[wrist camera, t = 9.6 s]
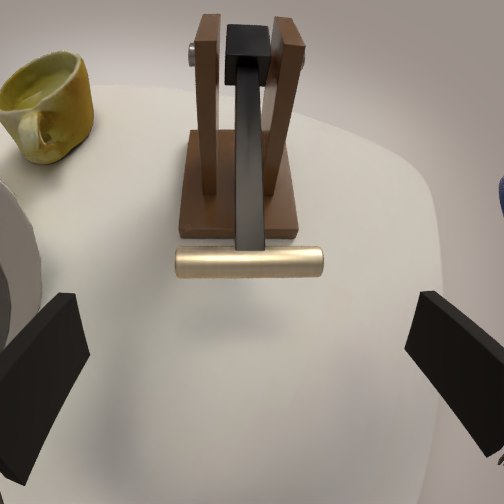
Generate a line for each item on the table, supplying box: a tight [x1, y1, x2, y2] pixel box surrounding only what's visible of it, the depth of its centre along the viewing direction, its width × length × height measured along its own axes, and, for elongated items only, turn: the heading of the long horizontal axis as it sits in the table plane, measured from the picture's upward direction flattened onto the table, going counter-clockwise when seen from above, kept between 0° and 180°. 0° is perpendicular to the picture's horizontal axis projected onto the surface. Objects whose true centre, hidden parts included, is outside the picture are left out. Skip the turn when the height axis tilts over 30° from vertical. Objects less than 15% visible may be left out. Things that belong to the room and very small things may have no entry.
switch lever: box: [175, 24, 324, 278], centre depth 13 cm, size 13×6×2 cm, turn 3°
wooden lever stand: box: [178, 14, 306, 238], centre depth 18 cm, size 10×8×13 cm
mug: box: [0, 51, 94, 164], centre depth 21 cm, size 12×10×10 cm
